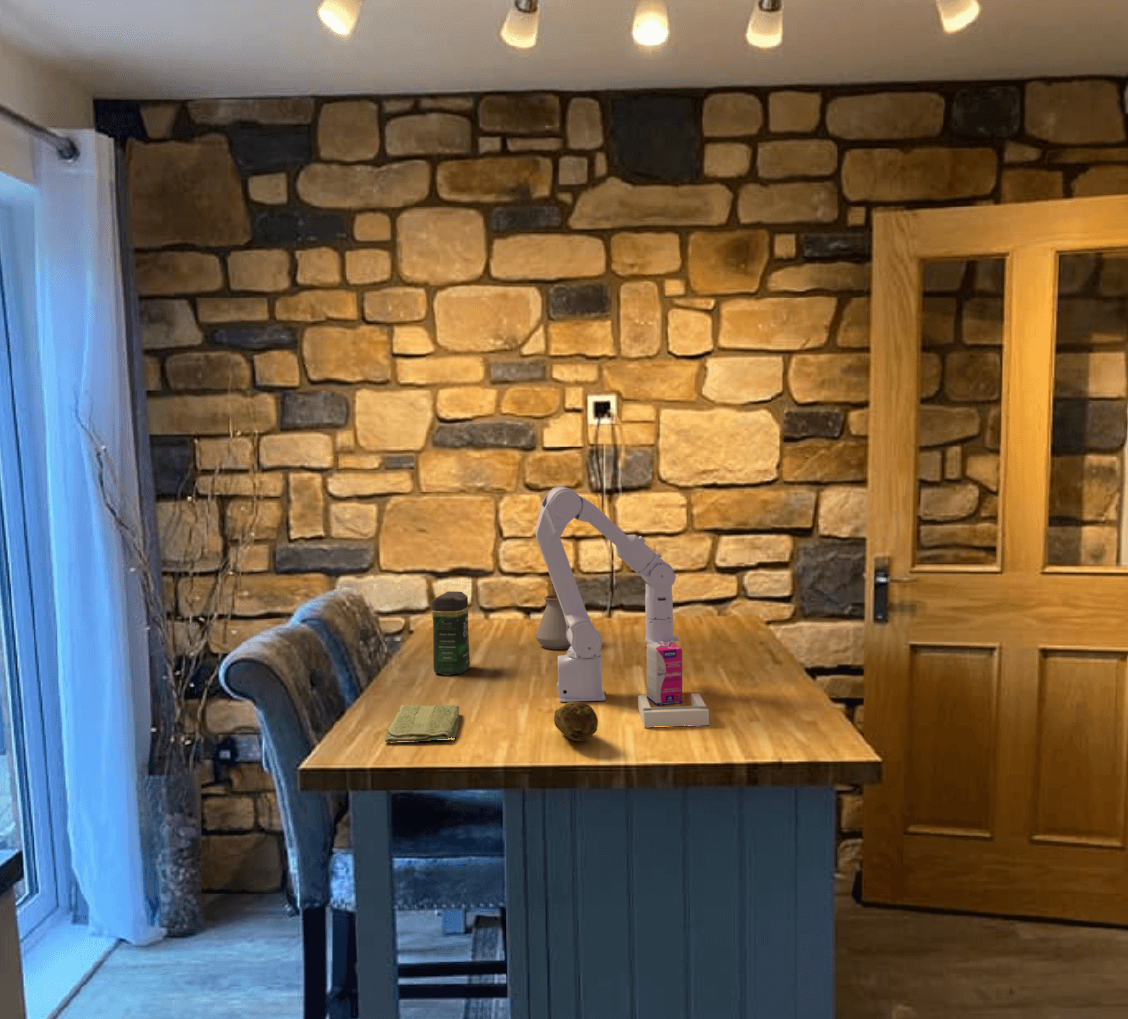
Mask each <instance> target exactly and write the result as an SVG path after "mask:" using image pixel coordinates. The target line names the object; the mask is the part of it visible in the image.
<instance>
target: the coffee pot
mask: <svg viewBox="0 0 1128 1019" xmlns="http://www.w3.org/2000/svg"><path fill="white" fill-rule="evenodd" d="M551 583H552V580H551V581H550V582H549V585H550V586H552V588H551V591H552V594H551V595H545V596H544V597H543V599H544V600H545V604H546V607H545V608H544V612H543V615H542V617H541V619H540V622H539V625H538V628H537V630H536V632H535V636H534V637H535V639H536V641H537V642H538V643H539V644H540V645H542V648H544V649H547V650H564V649H569V648H570V646H571V644H570V643H569V642H568V640H567V637H566V630H567V625H566V621H565V618H564V613H563V610H562V608H561V605H560V602H559V599H558V597H557V594H556V591H555V588H554V585H553V583H552V584H551Z"/></svg>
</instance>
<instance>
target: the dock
mask: <svg viewBox="0 0 1128 1019" xmlns="http://www.w3.org/2000/svg"><path fill="white" fill-rule="evenodd" d="M637 697H638V698H637V701H638V702H637V706H638V707H637V708H638V710H639V711H638V713H640V714H639V716H640V719H641V722H642V721H643V722H642V725H643V724H644V725H643V727H644V726H645V727H650V726H651V727H654V726H684V725H685V726H688V725H709V726H710V711H709V708H708V705H706V703H705V702H704V700H703V698H702V697H701V695H700V693H697V692H696V693H690V703H691V704H690V705H689V706H688V705H687V706H685V705H684V706H659V707H658V706H656V707H651V705H650V701H649V700H648V699H647V694H642V695H641V694H640V695H639V694H638V695H637Z"/></svg>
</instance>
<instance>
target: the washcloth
mask: <svg viewBox="0 0 1128 1019" xmlns="http://www.w3.org/2000/svg"><path fill="white" fill-rule="evenodd" d="M459 724H460V707H459V705H456V704H444V705H442V704H440V705H438V704H434V705H420V704H401V705H400V707H399V708H398V710H397V713H396V714H395V717H394V719H393V721H392V722H391V724H390V726H389V727H388V729H387V730H386V734H385V737H384V742H385V743H389V742H397V741H415V742H414V743H418V742H417V741H428V742H432V741H431V740H437V739H448V738H451V737H452V738H455V737H456V738H457V734H458V729H459Z"/></svg>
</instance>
